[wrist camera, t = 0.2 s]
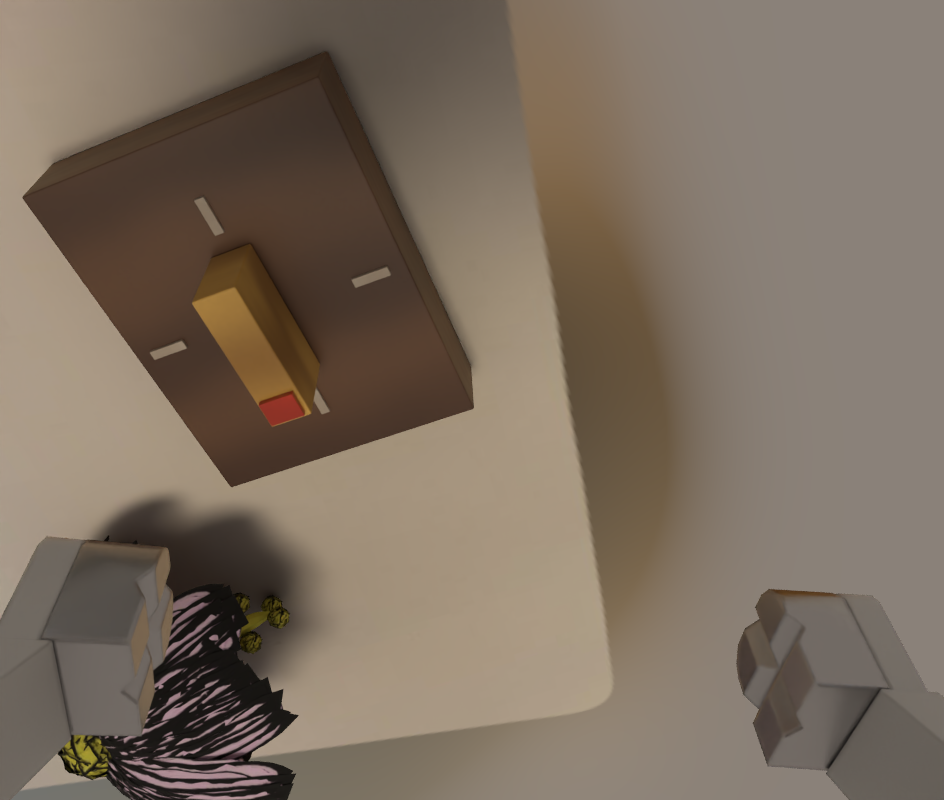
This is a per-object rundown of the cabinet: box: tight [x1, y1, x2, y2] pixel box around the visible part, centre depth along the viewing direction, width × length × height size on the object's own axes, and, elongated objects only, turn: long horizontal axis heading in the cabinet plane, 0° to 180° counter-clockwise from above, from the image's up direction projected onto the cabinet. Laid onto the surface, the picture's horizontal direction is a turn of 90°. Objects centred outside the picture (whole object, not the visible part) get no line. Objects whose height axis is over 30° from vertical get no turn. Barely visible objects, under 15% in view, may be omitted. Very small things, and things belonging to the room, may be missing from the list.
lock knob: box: [192, 244, 320, 427], centre depth 31 cm, size 6×2×3 cm, turn 20°
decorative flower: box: [58, 535, 299, 800], centre depth 42 cm, size 15×12×15 cm
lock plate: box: [23, 52, 474, 487], centre depth 34 cm, size 14×11×3 cm
